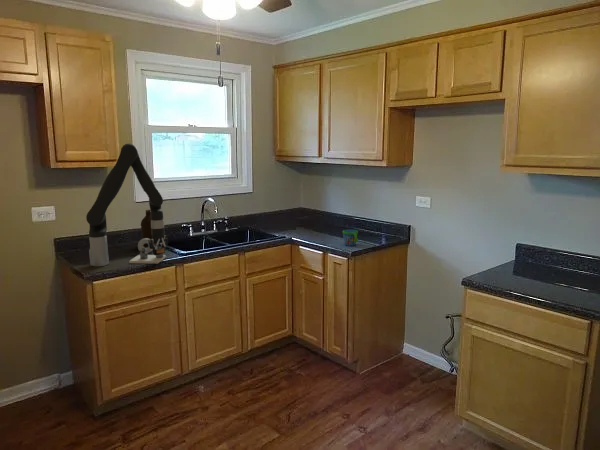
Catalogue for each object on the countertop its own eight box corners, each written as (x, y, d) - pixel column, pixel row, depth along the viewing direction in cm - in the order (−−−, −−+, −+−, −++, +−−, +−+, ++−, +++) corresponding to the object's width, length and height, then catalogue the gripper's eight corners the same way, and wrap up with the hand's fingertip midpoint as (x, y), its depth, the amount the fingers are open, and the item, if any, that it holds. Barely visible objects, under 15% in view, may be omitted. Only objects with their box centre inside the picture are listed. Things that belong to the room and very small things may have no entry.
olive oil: (140, 247, 304) (137, 211, 299) (145, 243, 314) (142, 208, 310) (155, 247, 304) (153, 211, 299) (160, 243, 315) (158, 208, 310)
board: (129, 263, 266) (129, 260, 265) (139, 257, 279) (138, 254, 279) (157, 263, 265) (157, 261, 265) (165, 257, 279) (165, 255, 278)
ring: (159, 253, 269) (158, 250, 269) (152, 252, 272) (151, 248, 271) (166, 251, 274) (166, 248, 274) (159, 250, 277) (159, 246, 277)
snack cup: (338, 243, 316) (338, 229, 314) (352, 242, 319) (352, 228, 317) (347, 248, 301) (348, 233, 299) (361, 247, 305) (362, 232, 303)
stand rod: (139, 259, 269) (138, 248, 268) (141, 257, 273) (141, 246, 272) (146, 259, 269) (145, 248, 268) (149, 257, 273) (148, 247, 272)
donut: (154, 251, 292) (153, 237, 290) (154, 253, 289) (153, 238, 287) (138, 253, 288) (136, 238, 286) (138, 254, 285) (137, 239, 283)
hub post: (154, 258, 272) (154, 247, 270) (157, 256, 276) (156, 245, 275) (161, 258, 271) (161, 247, 270) (164, 256, 276) (163, 245, 274)
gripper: (152, 229, 262) (154, 257, 265) (171, 225, 274) (172, 252, 278) (143, 228, 266) (145, 255, 269) (162, 224, 278) (163, 250, 281)
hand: (159, 253), depth 273 cm, fingers closed on ring, 6 cm apart
